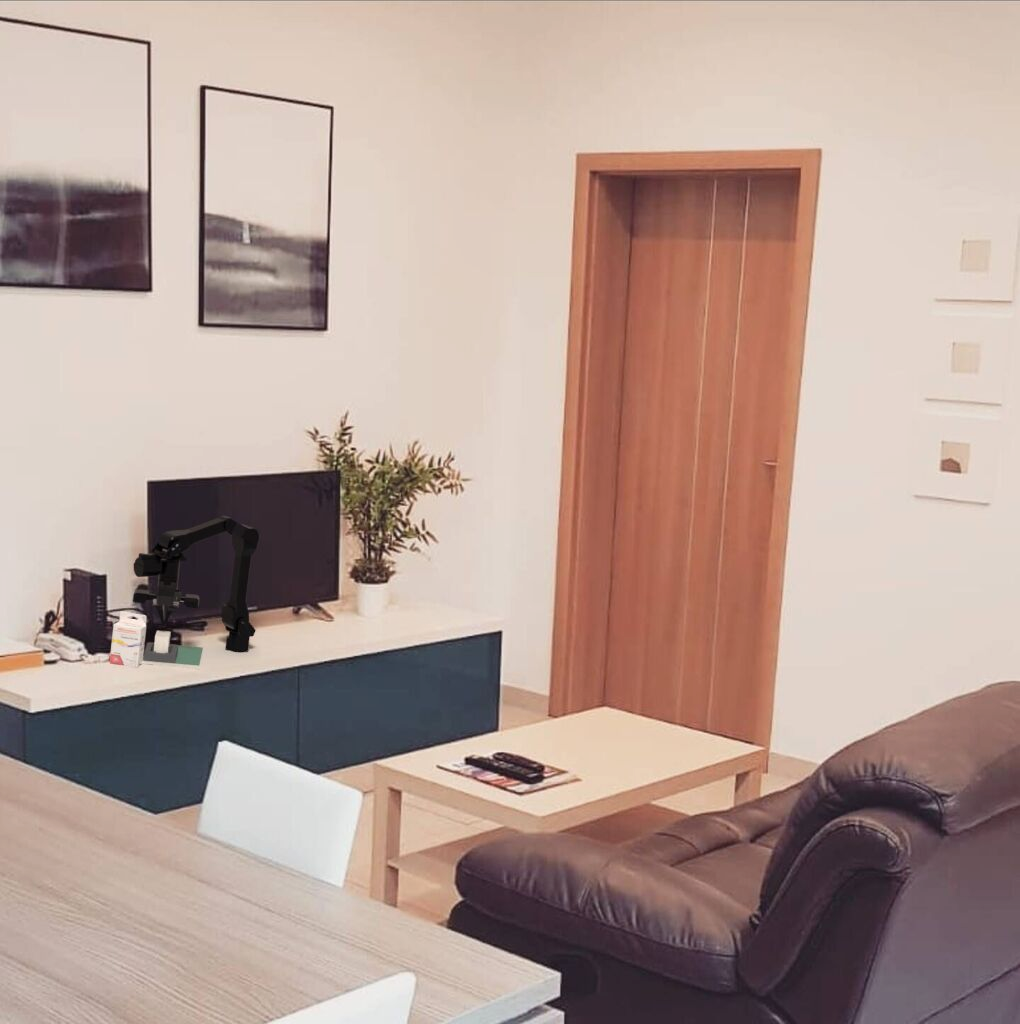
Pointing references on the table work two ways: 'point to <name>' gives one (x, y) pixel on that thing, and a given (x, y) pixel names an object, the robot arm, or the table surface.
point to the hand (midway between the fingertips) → (163, 627)
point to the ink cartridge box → (128, 640)
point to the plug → (162, 641)
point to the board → (174, 654)
